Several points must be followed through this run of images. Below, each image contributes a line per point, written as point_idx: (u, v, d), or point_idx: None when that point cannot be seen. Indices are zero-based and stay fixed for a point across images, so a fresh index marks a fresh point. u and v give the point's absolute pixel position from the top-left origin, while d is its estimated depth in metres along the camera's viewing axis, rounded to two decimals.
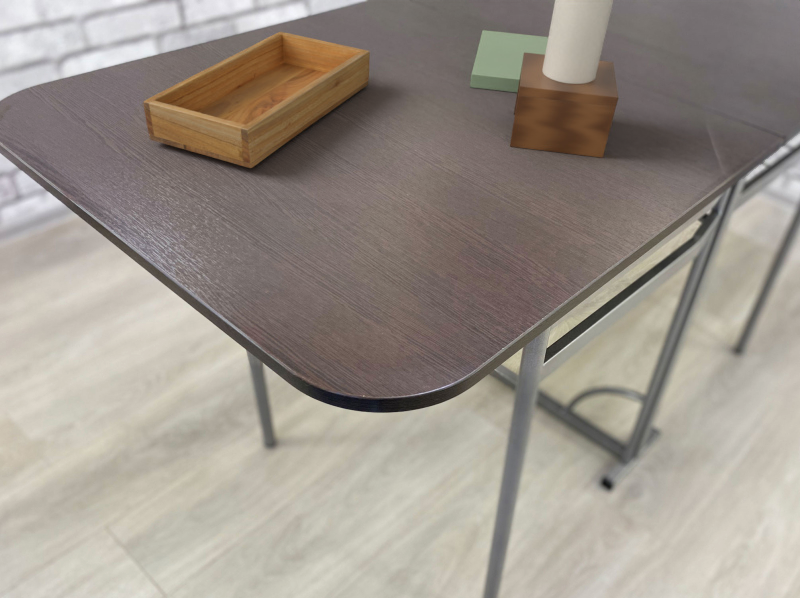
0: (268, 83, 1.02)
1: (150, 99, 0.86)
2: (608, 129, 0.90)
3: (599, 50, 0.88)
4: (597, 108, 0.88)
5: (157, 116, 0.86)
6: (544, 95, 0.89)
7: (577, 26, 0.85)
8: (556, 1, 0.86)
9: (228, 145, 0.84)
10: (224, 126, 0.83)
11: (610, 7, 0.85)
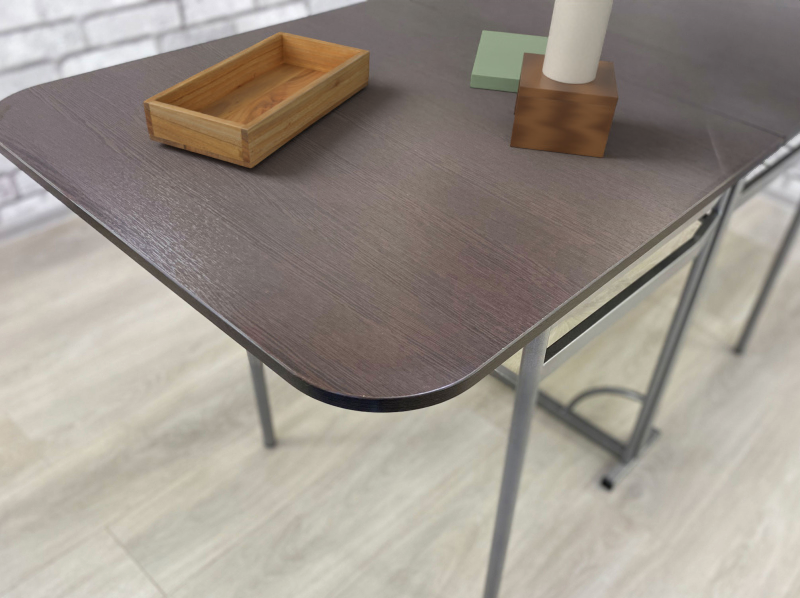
0: (268, 83, 1.02)
1: (150, 99, 0.86)
2: (608, 129, 0.90)
3: (599, 50, 0.88)
4: (597, 108, 0.88)
5: (157, 116, 0.86)
6: (544, 95, 0.89)
7: (577, 26, 0.85)
8: (556, 1, 0.86)
9: (228, 145, 0.84)
10: (224, 126, 0.83)
11: (610, 7, 0.85)
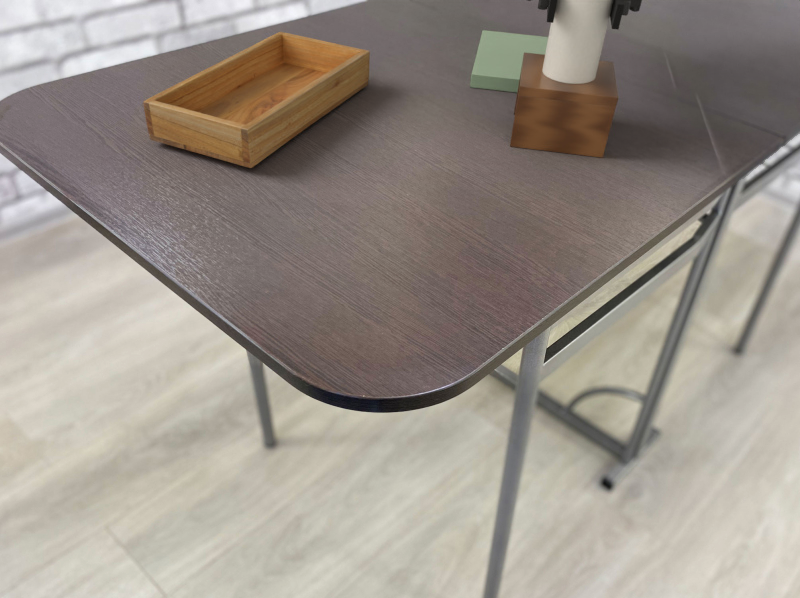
0: (268, 83, 1.02)
1: (150, 99, 0.86)
2: (608, 129, 0.90)
3: (599, 50, 0.88)
4: (597, 108, 0.88)
5: (157, 116, 0.86)
6: (544, 95, 0.89)
7: (577, 26, 0.85)
8: None
9: (228, 145, 0.84)
10: (224, 126, 0.83)
11: (610, 7, 0.85)
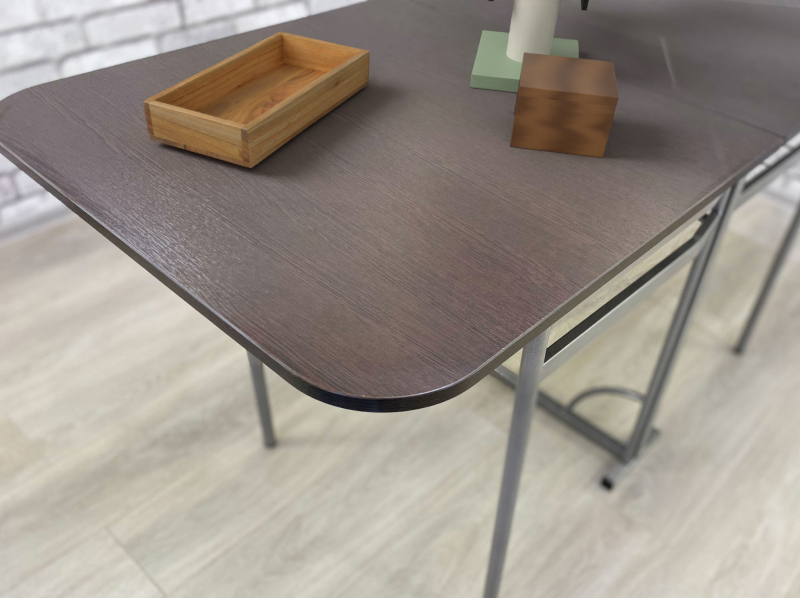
0: (268, 83, 1.02)
1: (150, 99, 0.86)
2: (608, 129, 0.90)
3: (551, 36, 1.09)
4: (597, 108, 0.88)
5: (157, 116, 0.86)
6: (544, 95, 0.89)
7: (531, 16, 1.06)
8: None
9: (228, 145, 0.84)
10: (224, 126, 0.82)
11: (558, 1, 1.06)
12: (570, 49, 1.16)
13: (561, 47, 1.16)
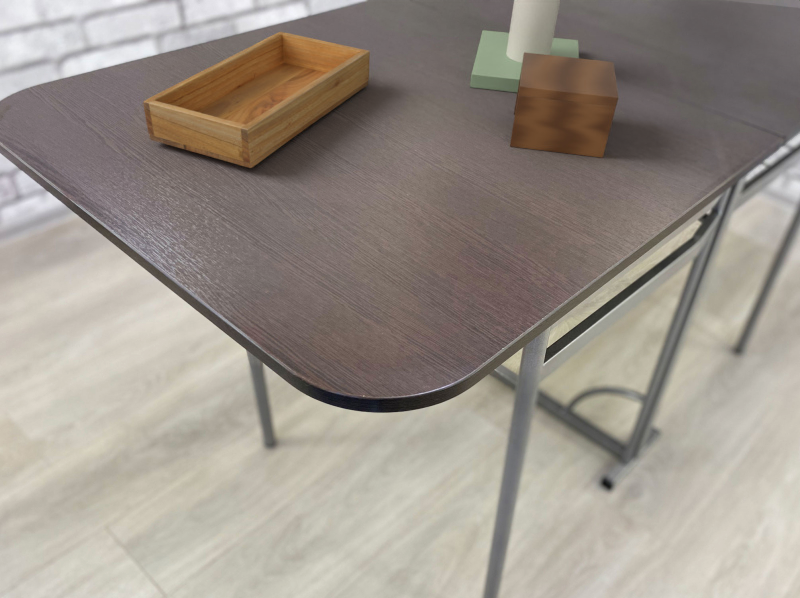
0: (268, 83, 1.02)
1: (150, 99, 0.86)
2: (608, 129, 0.90)
3: (551, 36, 1.09)
4: (597, 108, 0.88)
5: (157, 116, 0.86)
6: (544, 95, 0.89)
7: (531, 16, 1.06)
8: None
9: (228, 145, 0.84)
10: (224, 126, 0.82)
11: (558, 1, 1.06)
12: (570, 49, 1.16)
13: (561, 47, 1.16)
